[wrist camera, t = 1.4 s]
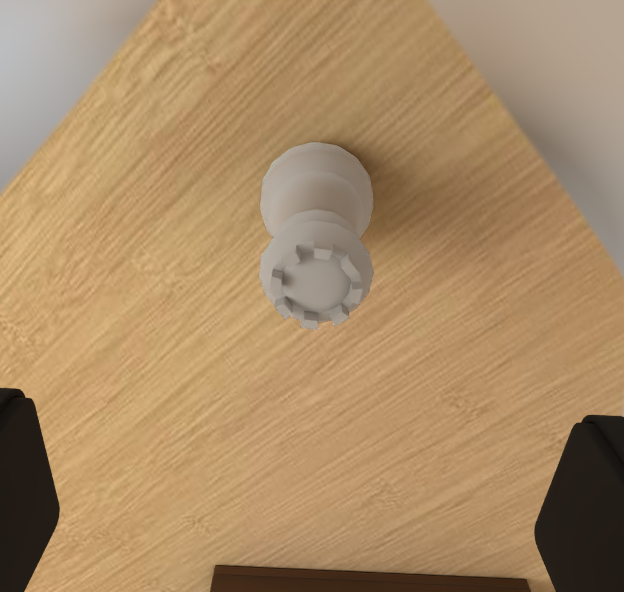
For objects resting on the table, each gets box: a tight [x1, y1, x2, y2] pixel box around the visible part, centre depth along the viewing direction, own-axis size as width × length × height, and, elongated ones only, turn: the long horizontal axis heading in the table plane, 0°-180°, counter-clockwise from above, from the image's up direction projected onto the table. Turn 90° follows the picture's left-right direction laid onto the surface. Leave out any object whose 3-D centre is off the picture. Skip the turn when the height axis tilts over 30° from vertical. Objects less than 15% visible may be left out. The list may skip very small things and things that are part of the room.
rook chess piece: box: [259, 142, 374, 330], centre depth 18 cm, size 4×4×8 cm
